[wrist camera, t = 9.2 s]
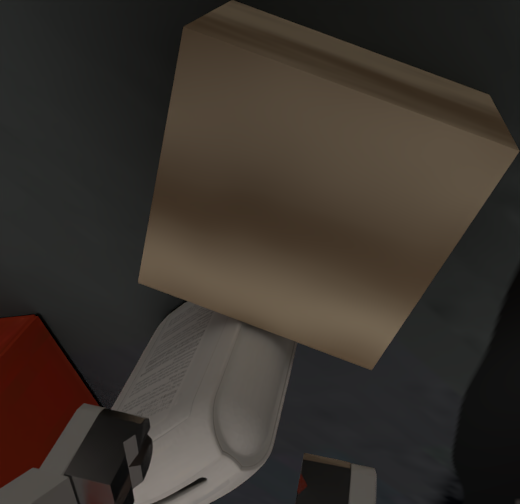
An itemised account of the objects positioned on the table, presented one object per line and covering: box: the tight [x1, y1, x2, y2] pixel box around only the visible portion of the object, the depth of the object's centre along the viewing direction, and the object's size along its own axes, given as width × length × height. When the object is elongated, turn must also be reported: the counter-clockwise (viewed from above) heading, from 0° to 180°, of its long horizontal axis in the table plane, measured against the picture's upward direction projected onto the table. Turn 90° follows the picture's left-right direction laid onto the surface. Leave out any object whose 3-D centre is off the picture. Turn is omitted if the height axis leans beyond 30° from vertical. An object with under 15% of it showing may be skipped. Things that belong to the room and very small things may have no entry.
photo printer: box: [111, 301, 297, 504], centre depth 24 cm, size 10×4×12 cm, turn 133°
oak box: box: [138, 0, 519, 370], centre depth 21 cm, size 11×11×6 cm
